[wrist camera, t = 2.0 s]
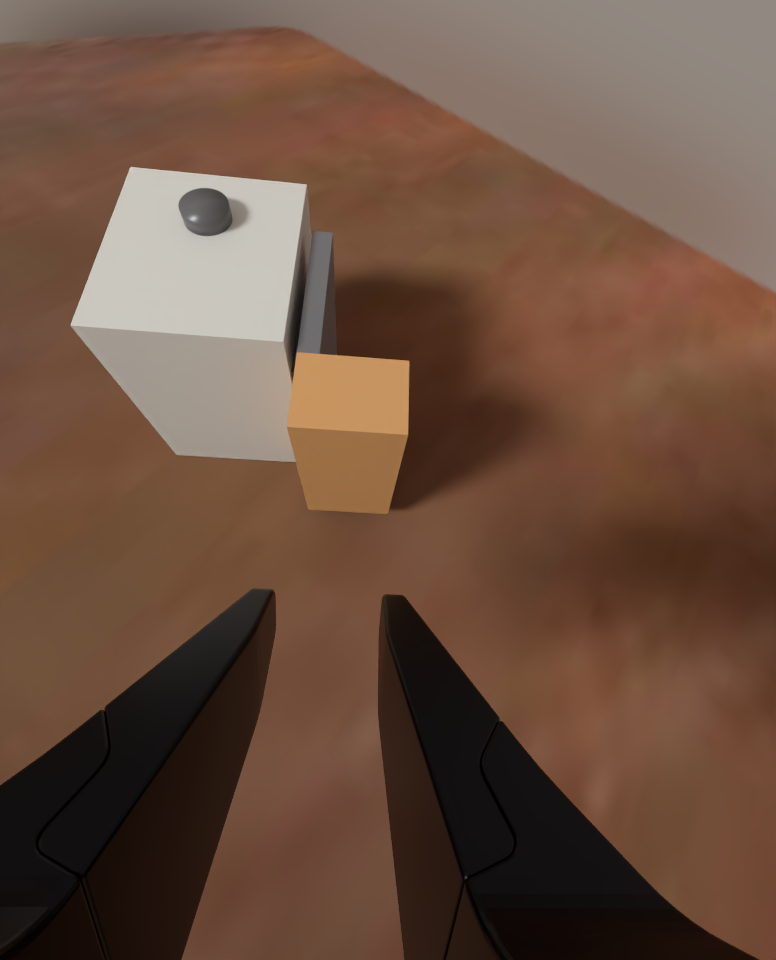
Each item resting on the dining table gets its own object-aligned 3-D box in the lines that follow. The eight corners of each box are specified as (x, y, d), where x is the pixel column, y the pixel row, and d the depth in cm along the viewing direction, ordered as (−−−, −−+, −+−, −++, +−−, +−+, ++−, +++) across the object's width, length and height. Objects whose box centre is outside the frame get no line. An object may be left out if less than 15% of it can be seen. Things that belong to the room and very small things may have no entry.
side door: (387, 513, 23) (408, 434, 15) (308, 509, 23) (286, 426, 15) (392, 366, 26) (411, 240, 18) (323, 361, 26) (312, 230, 18)
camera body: (309, 463, 25) (283, 330, 15) (176, 455, 24) (59, 312, 14) (324, 320, 28) (312, 139, 19) (210, 311, 28) (135, 120, 18)
